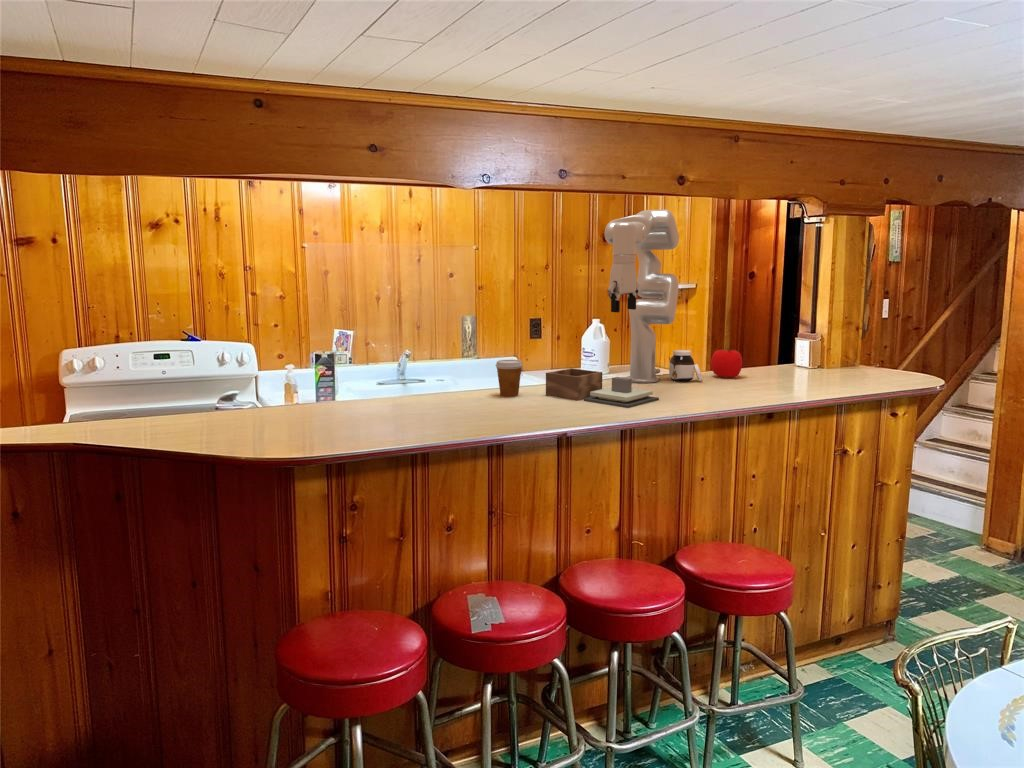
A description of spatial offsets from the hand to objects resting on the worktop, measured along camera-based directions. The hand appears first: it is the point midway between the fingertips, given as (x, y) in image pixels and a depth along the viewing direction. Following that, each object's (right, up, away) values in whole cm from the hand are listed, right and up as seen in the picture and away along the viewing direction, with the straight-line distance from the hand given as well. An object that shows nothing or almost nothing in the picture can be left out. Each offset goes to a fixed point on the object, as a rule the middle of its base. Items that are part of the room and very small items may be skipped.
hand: (623, 310), depth 251 cm
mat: (-1, -31, -4) cm, 31 cm away
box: (-16, -29, +6) cm, 34 cm away
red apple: (+47, -23, +42) cm, 67 cm away
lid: (-1, -30, -4) cm, 30 cm away
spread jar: (+30, -24, +34) cm, 51 cm away
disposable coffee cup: (-39, -29, +7) cm, 49 cm away
